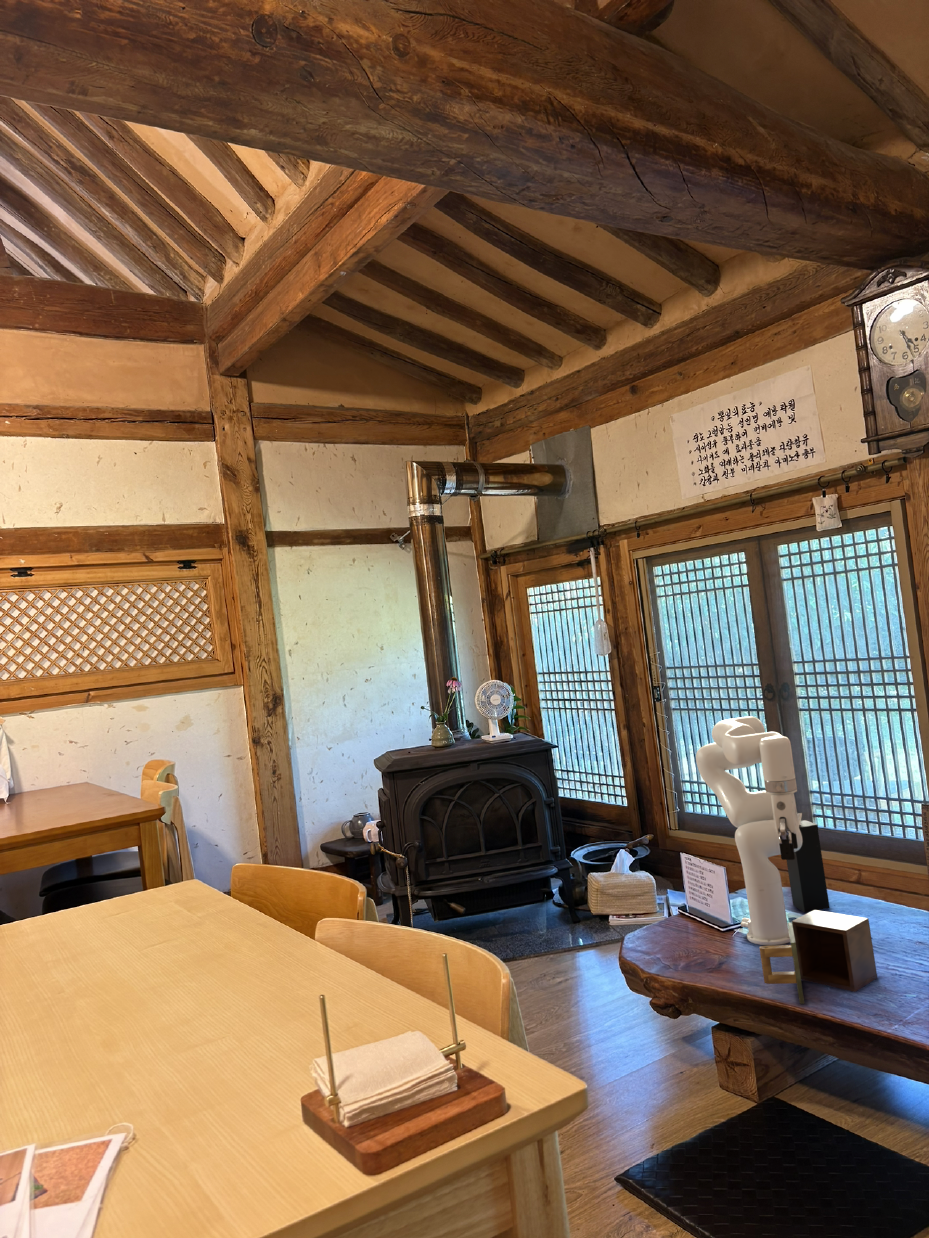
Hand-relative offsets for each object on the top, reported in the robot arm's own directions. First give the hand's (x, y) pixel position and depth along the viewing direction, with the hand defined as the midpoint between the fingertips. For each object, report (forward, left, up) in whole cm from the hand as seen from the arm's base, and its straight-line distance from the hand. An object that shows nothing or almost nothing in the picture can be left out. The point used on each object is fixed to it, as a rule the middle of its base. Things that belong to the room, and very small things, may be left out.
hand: (789, 853), depth 225 cm
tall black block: (-23, +40, -28) cm, 54 cm away
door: (+5, -18, -28) cm, 33 cm away
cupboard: (+11, -4, -28) cm, 30 cm away
